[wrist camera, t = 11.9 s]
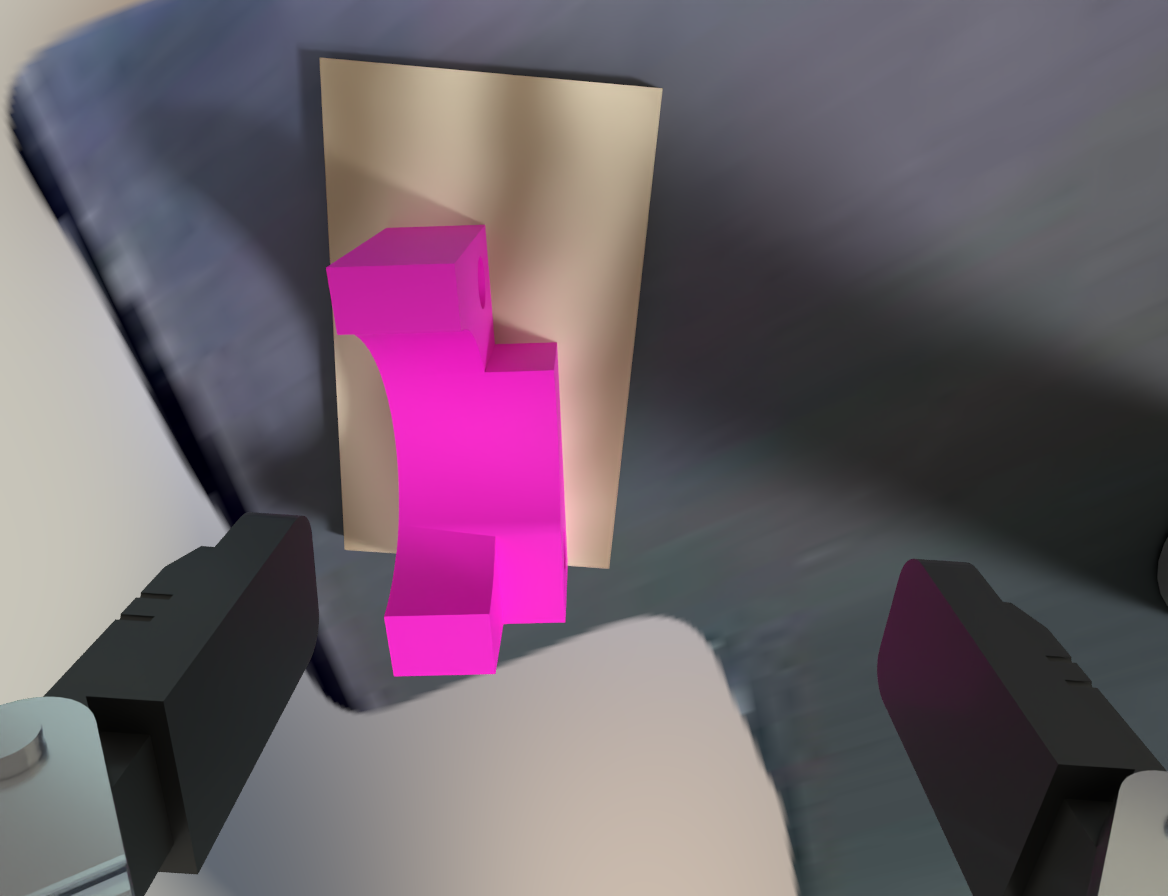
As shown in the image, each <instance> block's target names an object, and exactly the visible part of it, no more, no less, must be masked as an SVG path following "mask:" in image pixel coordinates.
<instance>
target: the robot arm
mask: <svg viewBox="0 0 1168 896" xmlns="http://www.w3.org/2000/svg"><path fill="white" fill-rule="evenodd" d="M1157 579H1158V584H1159V589H1160V594H1161V596H1162V597H1163V599H1164V601H1165V603H1166V604H1167V606H1168V538H1167V540H1166V541H1165V543H1164V546H1163V549H1162V552H1161V555H1160V558H1159V561H1158V575H1157ZM318 625H319V608H318V597H317V586H316V575H315V564H314V552H313V541H312V532H311V527H310V523H309V521H308V519H307V518H306V517H305V516H298V515H283V514H269V513H254V512H248V513H245V514H244V515H242V516H241V517H240V519H239V520H238V521H237V522H236V523H235V524H234V525H233V527H232V528H231V529H230V530H229V531H228V532H227V534H226V535H225V536H224V537H223V538H222V539H221V540H220V542H219V543H218V544H217V545H216V546H215V547H206V546H201V547H199V548H197V549H195V550H194V551H192V552H190V553H188V554H187V555H185V556H183V557H181V558H180V559H178V560H176V561H174V562H173V563H171V564H169V565H167V566H166V567H164V568H163V569H162V570H161V572H160V573H159V574H158V575H157V576H156V577H155V578H154V579H153V580H152V581H151V582H150V583H149V584H148V585H147V586H146V588H145V589H144V590H143V591H142V592H141V597H140V598H135V600H133V601H132V602H131V604H130V605H129V606H128V607H127V608H126V609H125V610H124V611H123V612H122V613H121V618H120V620H115V621H114V622H113V623H112V624H111V625H110V626H109V627H108V628H107V629H106V630H105V631H104V632H103V634H102V635H101V636H100V637H99V638H98V639H97V640H96V641H95V642H94V643H93V644H92V645H91V646H90V647H89V648H88V650H87V651H86V652H85V653H84V654H83V655H82V656H81V657H80V658H79V659H78V660H77V661H76V662H75V663H74V664H73V665H72V667H71V668H70V669H69V670H68V671H67V672H66V673H65V674H64V675H63V676H62V677H61V678H60V679H59V680H58V682H57V683H56V684H55V685H54V686H53V687H52V688H51V689H50V690H49V691H48V692H47V693H46V694H45V695H44V696H43V697H36V698H29V699H23V700H18V701H14V702H10V703H6V704H3V705H0V896H144V895H145V893H146V892H147V890H148V888H149V887H150V885H151V883H152V881H153V879H154V878H155V876H156V874H157V873H158V872H171V873H185V874H198V873H199V871H200V869H201V867H202V865H203V864H204V862H205V860H206V858H207V856H208V854H209V852H210V850H211V848H212V846H213V844H214V842H215V841H216V839H217V837H218V835H219V833H220V831H221V829H222V827H223V825H224V823H225V821H226V819H227V818H228V816H229V814H230V812H231V810H232V808H233V806H234V804H235V802H236V800H237V798H238V797H239V795H240V793H241V791H242V789H243V787H244V785H245V783H246V781H247V779H248V778H249V776H250V774H251V772H252V770H253V768H254V766H255V764H256V762H257V760H258V758H259V757H260V754H261V753H262V751H263V749H264V747H265V745H266V743H267V741H268V739H269V737H270V735H271V734H272V732H273V730H274V728H275V726H276V724H277V722H278V720H279V718H280V716H281V714H282V713H283V711H284V709H285V707H286V705H287V703H288V701H289V699H290V697H291V695H292V693H293V692H294V690H295V688H296V686H297V684H298V682H299V680H300V678H301V676H302V674H303V672H304V671H305V669H306V667H307V665H308V663H309V661H310V659H311V656H312V654H313V651H314V647H315V644H316V639H317V634H318ZM877 675H878V685H879V690H880V694H881V697H882V700H883V702H884V704H885V707H886V709H887V711H888V713H889V715H890V717H891V720H892V722H893V724H894V726H895V728H896V730H897V732H898V735H899V737H900V739H901V741H902V743H903V745H904V748H905V750H906V752H907V754H908V756H909V758H910V761H911V763H912V765H913V767H914V769H915V771H916V774H917V776H918V778H919V780H920V782H921V784H922V786H923V789H924V791H925V793H926V795H927V797H928V799H929V802H930V804H931V806H932V808H933V810H934V812H935V815H936V817H937V819H938V821H939V823H940V825H941V828H942V830H943V832H944V834H945V836H946V838H947V840H948V843H949V845H950V847H951V849H952V851H953V853H954V856H955V858H956V860H957V862H958V864H959V866H960V869H961V871H962V873H963V875H964V877H965V879H966V881H967V884H968V886H969V888H970V890H971V892H972V894H973V896H1168V772H1167V771H1166V770H1165V768H1164V767H1163V766H1162V765H1161V764H1160V763H1159V761H1158V760H1157V759H1156V758H1155V757H1154V755H1153V754H1152V753H1151V752H1150V751H1149V749H1148V748H1147V747H1146V746H1145V745H1144V743H1143V742H1142V741H1141V740H1140V739H1139V737H1138V736H1137V735H1136V734H1135V733H1134V731H1133V730H1132V729H1131V728H1130V727H1129V725H1128V724H1127V723H1126V722H1125V721H1124V719H1123V718H1122V717H1121V716H1120V715H1119V713H1118V712H1117V711H1116V710H1115V709H1114V708H1113V706H1112V705H1111V704H1110V703H1109V702H1108V700H1107V699H1106V698H1105V697H1104V696H1103V694H1102V693H1101V692H1100V691H1099V690H1098V688H1092V685H1091V683H1092V681H1091V680H1090V679H1089V678H1088V676H1087V675H1086V674H1085V673H1084V672H1083V670H1082V669H1081V668H1080V667H1079V666H1078V664H1077V663H1072V662H1071V656H1070V655H1069V654H1068V653H1067V651H1066V650H1065V649H1064V648H1063V647H1062V645H1061V644H1060V643H1059V642H1058V641H1057V639H1056V638H1055V637H1054V636H1053V635H1052V633H1051V632H1050V631H1049V630H1048V629H1047V628H1046V627H1045V626H1043V625H1042V624H1040V623H1039V622H1038V621H1036V620H1035V619H1033V618H1032V617H1030V616H1029V615H1028V614H1026V613H1025V612H1023V611H1022V610H1021V609H1019V608H1018V607H1016V606H1015V605H1013V604H1012V603H1007V602H1002V600H1001V599H1000V598H999V596H998V595H997V594H996V593H995V591H994V590H993V589H992V588H991V586H990V585H989V584H988V583H987V581H986V580H985V579H984V578H983V576H982V575H981V574H980V572H979V571H978V570H977V569H976V568H975V567H974V566H973V565H972V564H970V563H966V562H952V561H937V560H922V559H911V560H909V561H907V562H906V563H905V565H904V566H903V568H902V571H901V573H900V576H899V580H898V584H897V587H896V591H895V595H894V598H893V602H892V606H891V609H890V613H889V617H888V620H887V624H886V628H885V631H884V635H883V639H882V642H881V646H880V650H879V654H878V664H877Z"/></svg>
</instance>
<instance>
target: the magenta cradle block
mask: <svg viewBox="0 0 1168 896" xmlns="http://www.w3.org/2000/svg"><path fill="white" fill-rule="evenodd" d="M326 271H327V277H328V283H329V289H330V295H331V301H332V307H333V313H334V319H335V325H336V331H337V335H355V336H357V337H358V338H359V339H360V340H361V341H362V342H363V343H364V344H365V345H366V346H367V348H368V349H369V351H370V353H371V354H372V356H373V358H374V360H375V362H376V364H377V367H378V369H379V372H380V374H381V377H382V380H383V383H384V387H385V390H386V394H387V398H388V402H389V407H390V411H391V417H392V422H393V428H394V435H395V443H396V452H397V464H398V481H399V523H398V540H397V552H396V561H395V569H394V575H393V581H392V586H391V592H390V596H389V600H388V605H387V608H386V612H385V615H384V619H385V625H386V631H387V637H388V643H389V649H390V655H391V661H392V667H393V673H394V676H428V675H471V674H495V673H496V667H497V661H498V654H499V648H500V642H501V635H502V629H503V624H516V623H557V622H565V616H566V592H567V567H568V557H567V536H566V516H565V495H564V474H563V453H562V433H561V412H560V391H559V370H558V350H557V342H551V343H518V344H495V339H494V327H493V314H492V302H491V290H490V278H489V266H488V253H487V241H486V229H485V225H459V226H429V227H398V228H385V229H384V230H382V231H381V232H379V233H378V234H376V235H375V236H373V237H372V238H370V239H369V240H367V241H365V242H364V243H362V244H361V245H359V246H358V247H356V248H355V249H353V250H352V251H350V252H349V253H347V254H346V255H344V256H343V257H341V258H340V259H338V260H337V261H335V262H334V263H332V264H331V265H329V266H327V267H326Z"/></svg>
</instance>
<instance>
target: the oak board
mask: <svg viewBox="0 0 1168 896" xmlns="http://www.w3.org/2000/svg"><path fill="white" fill-rule="evenodd" d="M320 76H321V96H322V115H323V135H324V154H325V174H326V193H327V213H328V232H329V252H330V265H331V264H332V263H334V262H335V261H337V260H338V259H340V258H341V257H343V256H344V255H346V254H347V253H349V252H350V251H352V250H353V249H355V248H356V247H358V246H359V245H361V244H362V243H364V242H365V241H367V240H369V239H370V238H372V237H373V236H375V235H376V234H378V233H379V232H381V231H382V230H384V229H385V228H398V227H429V226H459V225H485V229H486V241H487V253H488V266H489V278H490V290H491V302H492V314H493V327H494V339H495V344H518V343H551V342H557V350H558V370H559V391H560V412H561V433H562V453H563V474H564V495H565V516H566V536H567V557H568V566H580V567H594V568H608V569H609V563H610V555H611V546H612V537H613V528H614V519H615V510H616V501H617V492H618V483H619V474H620V465H621V456H622V447H623V438H624V429H625V420H626V411H627V402H628V393H629V384H630V375H631V366H632V358H633V349H634V340H635V331H636V322H637V313H638V304H639V295H640V286H641V277H642V268H643V259H644V250H645V241H646V232H647V223H648V214H649V205H650V196H651V187H652V178H653V170H654V161H655V152H656V143H657V134H658V125H659V116H660V107H661V98H662V89H663V88H652V87H641V86H630V85H619V84H608V83H597V82H586V81H575V80H563V79H552V78H541V77H530V76H519V75H508V74H497V73H486V72H475V71H464V70H453V69H441V68H430V67H419V66H408V65H397V64H386V63H375V62H364V61H353V60H342V59H330V58H320ZM332 310H333V307H332ZM333 330H334V349H335V369H336V389H337V408H338V428H339V447H340V467H341V486H342V506H343V525H344V545H345V550H356V551H370V552H384V553H396V552H397V540H398V523H399V481H398V464H397V452H396V443H395V435H394V428H393V422H392V417H391V411H390V407H389V402H388V398H387V394H386V390H385V387H384V383H383V380H382V377H381V374H380V372H379V369H378V367H377V364H376V362H375V360H374V358H373V356H372V354H371V353H370V351H369V349H368V348H367V346H366V345H365V344H364V343H363V342H362V341H361V340H360V339H359V338H358V337H357V336H355V335H337V331H336V325H335V319H334V313H333Z"/></svg>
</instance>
